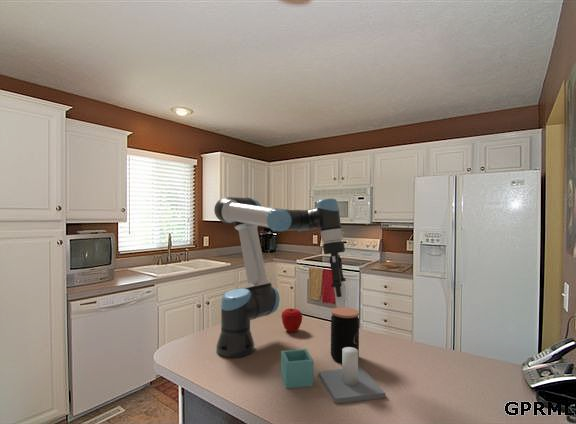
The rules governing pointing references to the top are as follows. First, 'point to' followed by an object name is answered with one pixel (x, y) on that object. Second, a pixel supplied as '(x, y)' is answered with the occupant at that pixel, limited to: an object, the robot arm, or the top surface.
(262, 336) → the top surface
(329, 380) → the grey square base plate
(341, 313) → the coffee jar
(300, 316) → the apple
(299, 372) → the teal storage bin
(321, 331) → the top surface
